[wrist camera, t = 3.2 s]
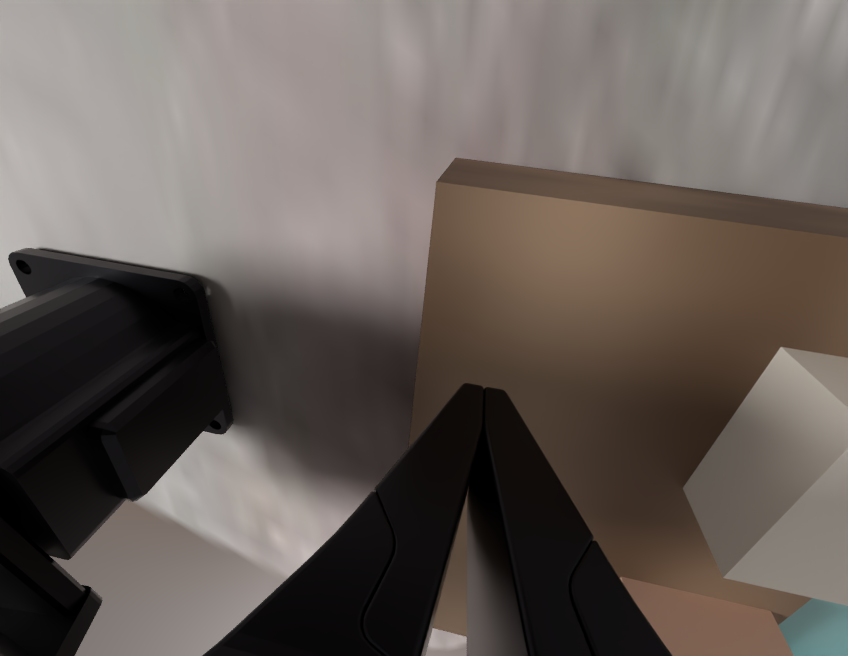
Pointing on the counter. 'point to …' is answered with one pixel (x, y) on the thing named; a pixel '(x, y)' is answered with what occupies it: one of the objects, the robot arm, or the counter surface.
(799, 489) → the cream tile
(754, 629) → the terracotta block
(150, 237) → the counter surface
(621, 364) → the walnut plate
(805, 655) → the tray
